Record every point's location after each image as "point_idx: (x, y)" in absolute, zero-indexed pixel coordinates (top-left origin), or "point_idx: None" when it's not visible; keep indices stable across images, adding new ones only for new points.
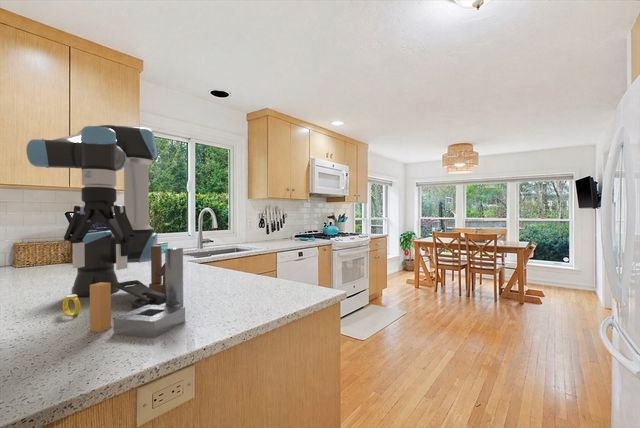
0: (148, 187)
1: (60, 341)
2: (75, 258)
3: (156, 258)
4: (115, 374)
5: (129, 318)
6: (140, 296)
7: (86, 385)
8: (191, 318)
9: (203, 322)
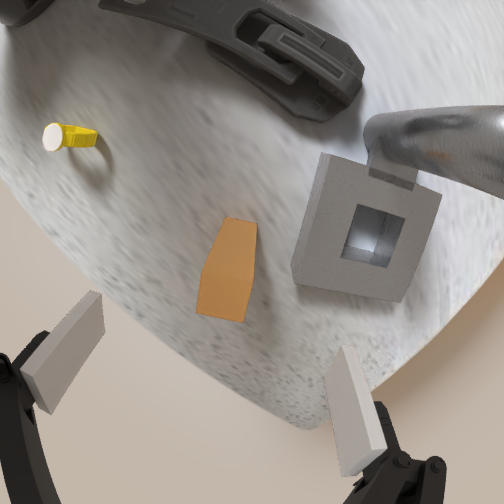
0: None
1: None
2: (84, 358)
3: None
4: (367, 383)
5: (337, 284)
6: (245, 56)
7: None
8: None
9: (457, 199)
